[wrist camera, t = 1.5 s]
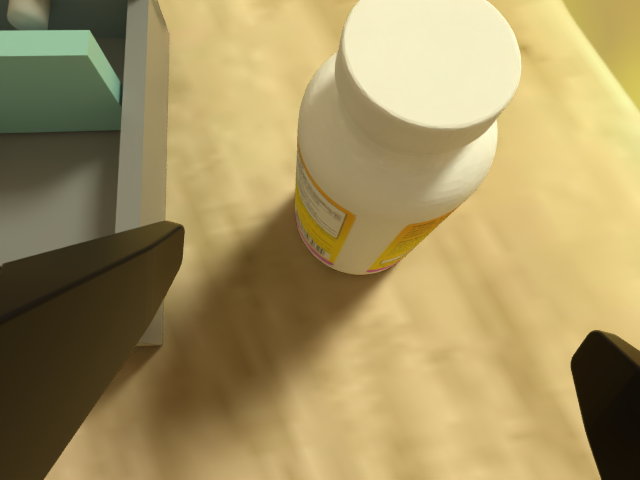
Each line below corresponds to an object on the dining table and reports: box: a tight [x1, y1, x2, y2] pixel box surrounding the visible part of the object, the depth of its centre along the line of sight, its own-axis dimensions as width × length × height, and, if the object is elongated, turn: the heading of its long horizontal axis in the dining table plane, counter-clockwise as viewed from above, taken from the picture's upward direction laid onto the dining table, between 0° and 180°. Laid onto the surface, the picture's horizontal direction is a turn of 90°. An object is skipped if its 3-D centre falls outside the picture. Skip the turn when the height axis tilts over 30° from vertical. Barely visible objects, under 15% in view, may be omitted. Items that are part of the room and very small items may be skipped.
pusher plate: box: [0, 30, 123, 133], centre depth 19 cm, size 1×8×6 cm, turn 94°
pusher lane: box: [0, 0, 169, 347], centre depth 19 cm, size 18×11×7 cm, turn 5°
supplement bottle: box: [295, 0, 521, 275], centre depth 17 cm, size 7×7×13 cm
